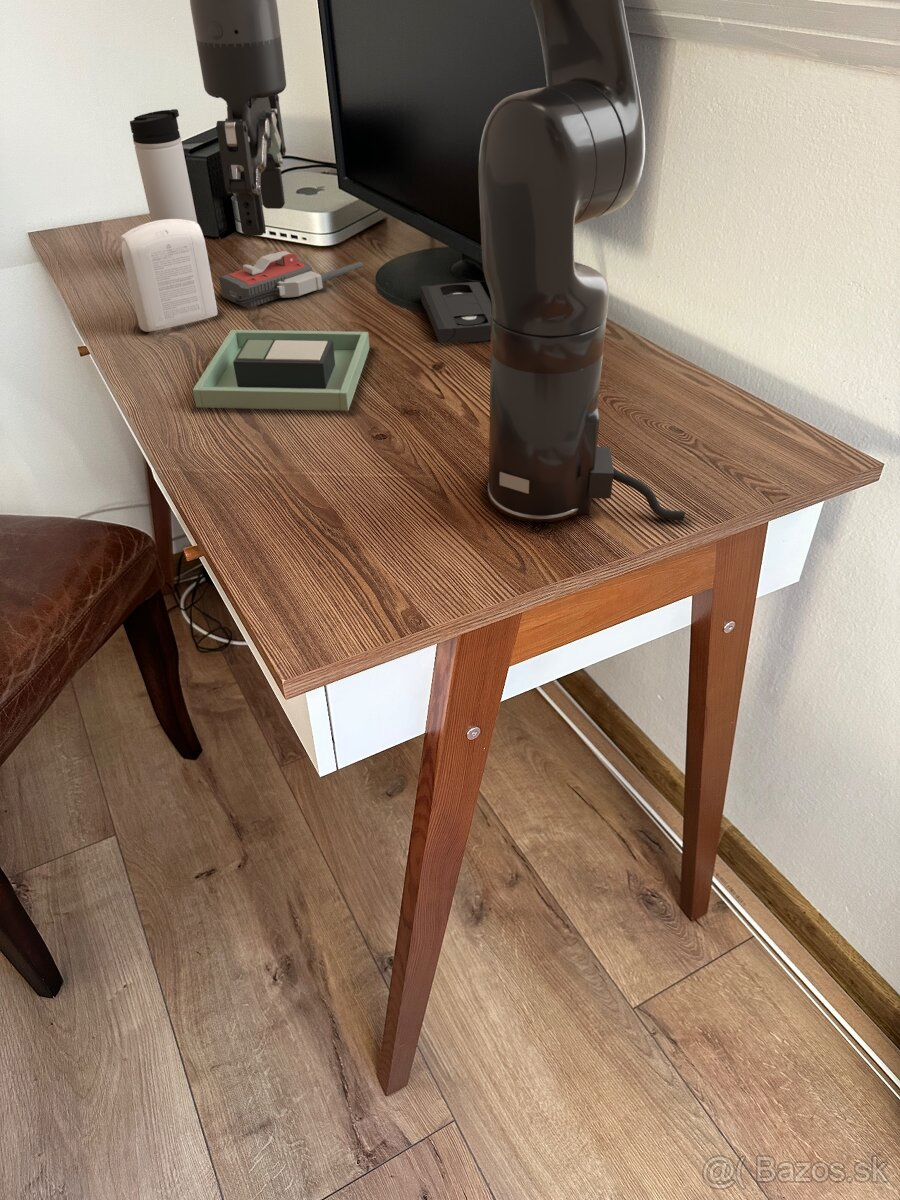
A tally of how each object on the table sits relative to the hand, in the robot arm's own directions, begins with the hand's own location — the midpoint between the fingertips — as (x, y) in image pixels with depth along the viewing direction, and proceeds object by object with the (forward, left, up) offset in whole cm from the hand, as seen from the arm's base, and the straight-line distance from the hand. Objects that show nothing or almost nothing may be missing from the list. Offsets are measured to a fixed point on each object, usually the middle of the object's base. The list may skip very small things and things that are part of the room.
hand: (264, 220), depth 90 cm
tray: (0, 0, -17) cm, 17 cm away
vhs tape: (-19, -17, -18) cm, 31 cm away
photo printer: (+17, -15, -18) cm, 29 cm away
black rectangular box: (0, 0, -17) cm, 17 cm away
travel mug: (+23, -36, -18) cm, 47 cm away
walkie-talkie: (+5, -27, -18) cm, 33 cm away
